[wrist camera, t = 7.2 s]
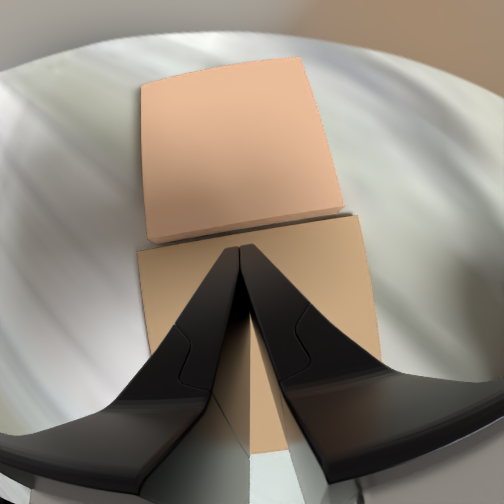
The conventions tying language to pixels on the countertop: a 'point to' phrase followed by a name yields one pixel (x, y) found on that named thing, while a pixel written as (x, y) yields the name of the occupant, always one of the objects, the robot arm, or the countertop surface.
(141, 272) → the mat
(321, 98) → the countertop surface
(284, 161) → the tile
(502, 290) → the countertop surface
